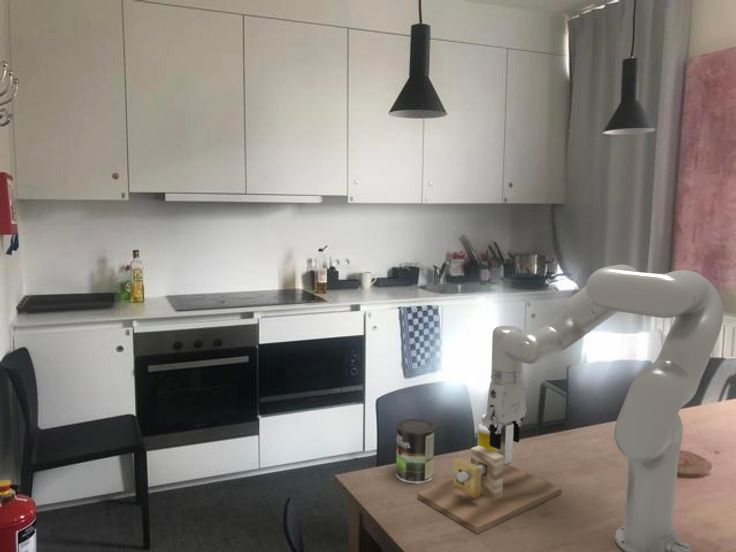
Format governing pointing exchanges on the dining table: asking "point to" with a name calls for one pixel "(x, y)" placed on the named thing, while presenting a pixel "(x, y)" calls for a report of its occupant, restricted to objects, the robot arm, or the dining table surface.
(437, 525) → the dining table surface
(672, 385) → the robot arm
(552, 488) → the bearing stand
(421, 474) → the coffee can
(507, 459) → the crank handle
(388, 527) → the dining table surface
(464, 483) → the frame
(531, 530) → the dining table surface
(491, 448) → the supplement bottle
